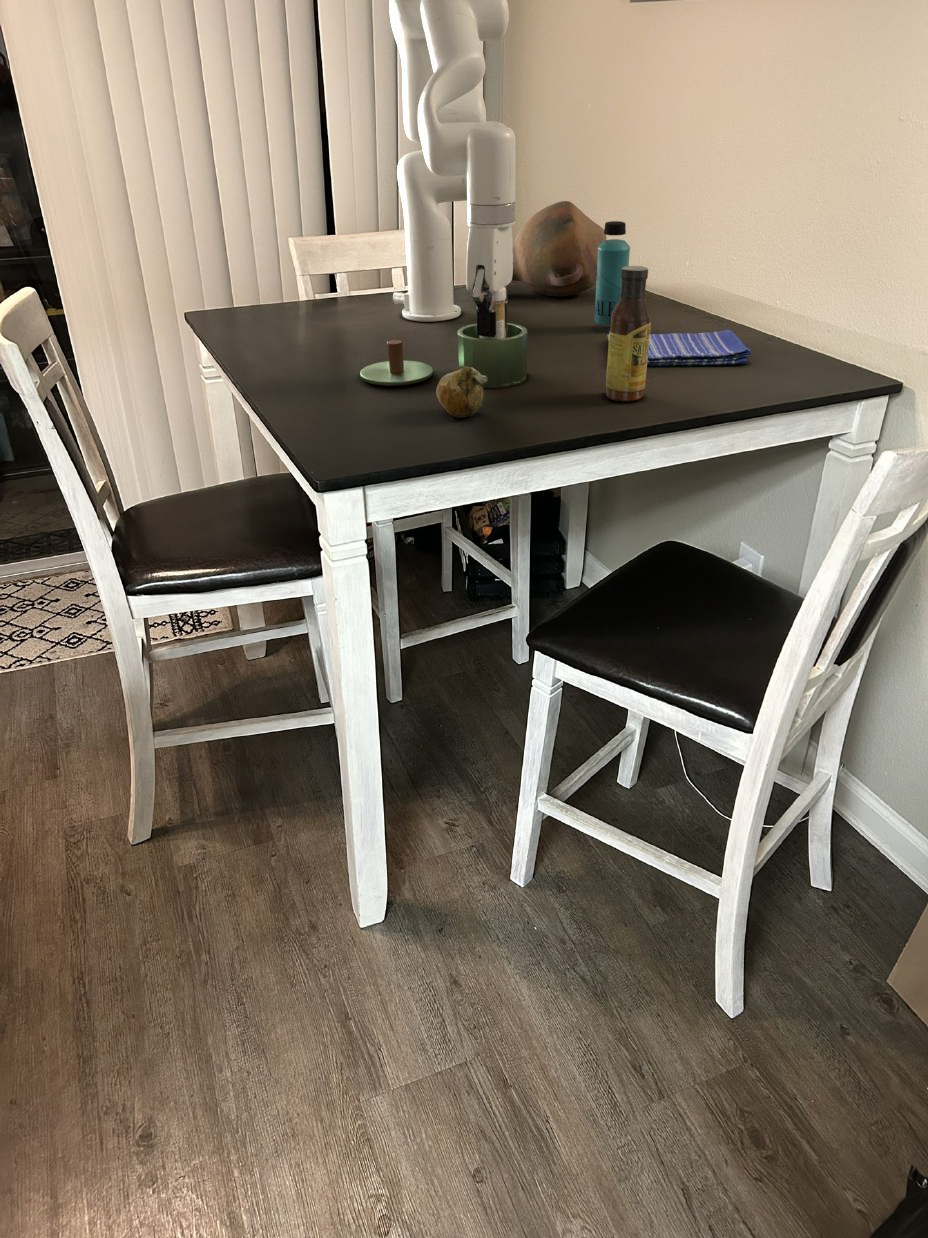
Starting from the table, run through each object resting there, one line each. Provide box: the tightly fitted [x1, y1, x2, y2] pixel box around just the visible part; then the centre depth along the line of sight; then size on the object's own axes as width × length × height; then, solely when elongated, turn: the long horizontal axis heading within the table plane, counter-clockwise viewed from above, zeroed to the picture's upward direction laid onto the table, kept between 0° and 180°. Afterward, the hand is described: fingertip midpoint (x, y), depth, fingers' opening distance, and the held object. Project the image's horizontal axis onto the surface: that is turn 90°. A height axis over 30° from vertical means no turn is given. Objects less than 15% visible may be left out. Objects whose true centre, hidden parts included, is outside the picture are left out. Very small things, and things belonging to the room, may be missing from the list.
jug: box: [511, 200, 607, 298], centre depth 205 cm, size 20×20×30 cm
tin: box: [457, 322, 528, 389], centre depth 156 cm, size 12×12×8 cm
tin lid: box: [359, 339, 434, 387], centre depth 158 cm, size 13×13×6 cm
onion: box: [435, 366, 488, 419], centre depth 141 cm, size 8×8×8 cm
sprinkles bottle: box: [480, 287, 506, 339], centre depth 154 cm, size 5×5×14 cm
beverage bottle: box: [593, 220, 631, 326], centre depth 178 cm, size 6×7×20 cm
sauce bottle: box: [605, 265, 652, 403], centre depth 143 cm, size 7×6×20 cm
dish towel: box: [607, 329, 753, 367], centre depth 167 cm, size 17×24×3 cm
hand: (492, 330), depth 154 cm, fingers closed on sprinkles bottle, 4 cm apart
